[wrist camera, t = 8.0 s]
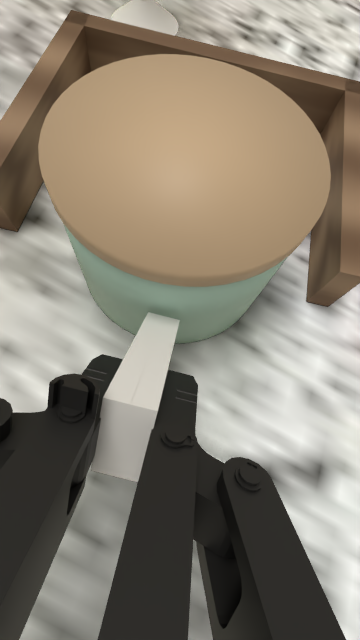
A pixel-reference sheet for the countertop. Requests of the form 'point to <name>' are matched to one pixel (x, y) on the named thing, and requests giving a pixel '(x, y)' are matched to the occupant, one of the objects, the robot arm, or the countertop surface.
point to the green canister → (181, 187)
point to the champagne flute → (146, 16)
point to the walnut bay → (131, 41)
